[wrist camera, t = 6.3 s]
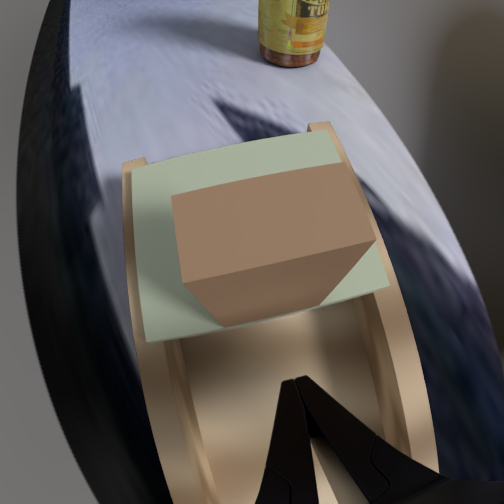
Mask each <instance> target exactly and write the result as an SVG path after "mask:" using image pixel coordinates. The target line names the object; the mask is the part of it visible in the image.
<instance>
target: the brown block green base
mask: <svg viewBox="0 0 504 504" xmlns="http://www.w3.org/2000/svg"><path fill="white" fill-rule="evenodd" d="M131 170H132V207H133V227H134V242H135V254H136V266H137V276H138V285H139V294H140V302H141V310H142V317H143V324H144V331H145V338H146V342H147V343H157V342H162V341H168V340H174V339H179V338H185V337H190V336H195V335H201V334H206V333H211V332H216V331H221V330H225V329H230V328H235V327H239V326H244V325H249V324H253V323H257V322H262V321H266V320H271V319H275V318H279V317H283V316H287V315H291V314H295V313H299V312H303V311H307V310H311V309H315V308H319V307H323V306H327V305H330V304H334V303H338V302H341V301H345V300H349V299H352V298H356V297H359V296H363V295H366V294H369V293H373V292H376V291H380V290H383V289H386V288H387V287H389V286H390V284H389V281H388V278H387V275H386V272H385V269H384V266H383V263H382V260H381V257H380V254H379V252H378V249H377V246H376V243H375V241H376V240H377V239H376V236H375V233H374V231H373V228H372V226H371V223H370V220H369V218H368V215H367V213H366V210H365V208H364V205H363V203H362V201H361V198H360V196H359V193H358V191H357V189H356V186H355V184H354V182H353V180H352V177H351V175H350V173H349V171H348V168H347V166H346V164H345V162H342V161H341V158H340V156H339V154H338V152H337V150H336V148H335V146H334V144H333V141H332V139H331V137H330V135H329V133H328V131H327V130H321V131H313V132H306V133H298V134H292V135H285V136H279V137H273V138H267V139H261V140H255V141H250V142H244V143H239V144H234V145H229V146H224V147H219V148H215V149H210V150H205V151H201V152H197V153H192V154H188V155H184V156H180V157H176V158H172V159H168V160H164V161H160V162H156V163H152V164H149V165H145V166H142V167H138V168H134V169H131Z"/></svg>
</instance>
